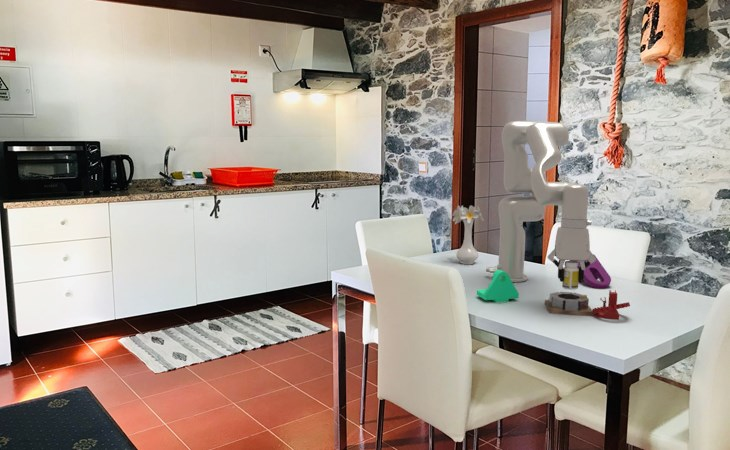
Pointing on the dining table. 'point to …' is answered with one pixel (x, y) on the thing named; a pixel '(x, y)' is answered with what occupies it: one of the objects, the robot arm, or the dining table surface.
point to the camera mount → (499, 288)
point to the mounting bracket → (596, 275)
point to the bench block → (559, 311)
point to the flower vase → (467, 233)
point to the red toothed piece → (609, 307)
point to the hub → (568, 301)
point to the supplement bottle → (570, 275)
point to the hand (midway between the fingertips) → (570, 280)
